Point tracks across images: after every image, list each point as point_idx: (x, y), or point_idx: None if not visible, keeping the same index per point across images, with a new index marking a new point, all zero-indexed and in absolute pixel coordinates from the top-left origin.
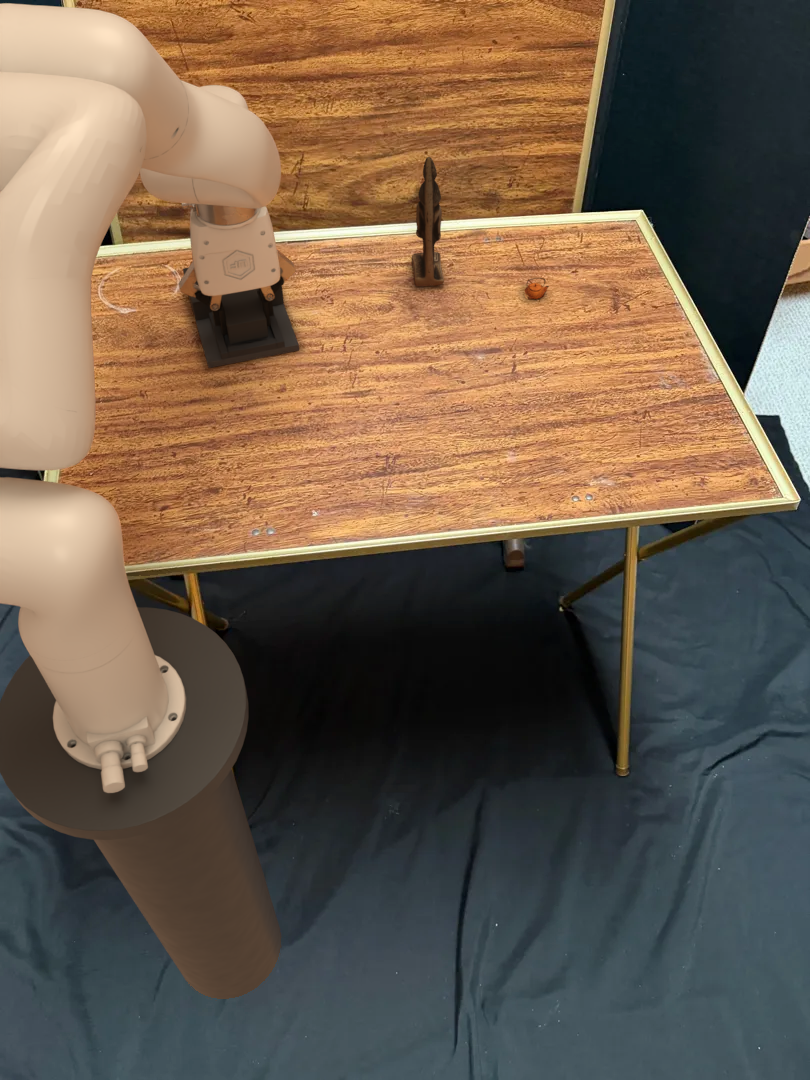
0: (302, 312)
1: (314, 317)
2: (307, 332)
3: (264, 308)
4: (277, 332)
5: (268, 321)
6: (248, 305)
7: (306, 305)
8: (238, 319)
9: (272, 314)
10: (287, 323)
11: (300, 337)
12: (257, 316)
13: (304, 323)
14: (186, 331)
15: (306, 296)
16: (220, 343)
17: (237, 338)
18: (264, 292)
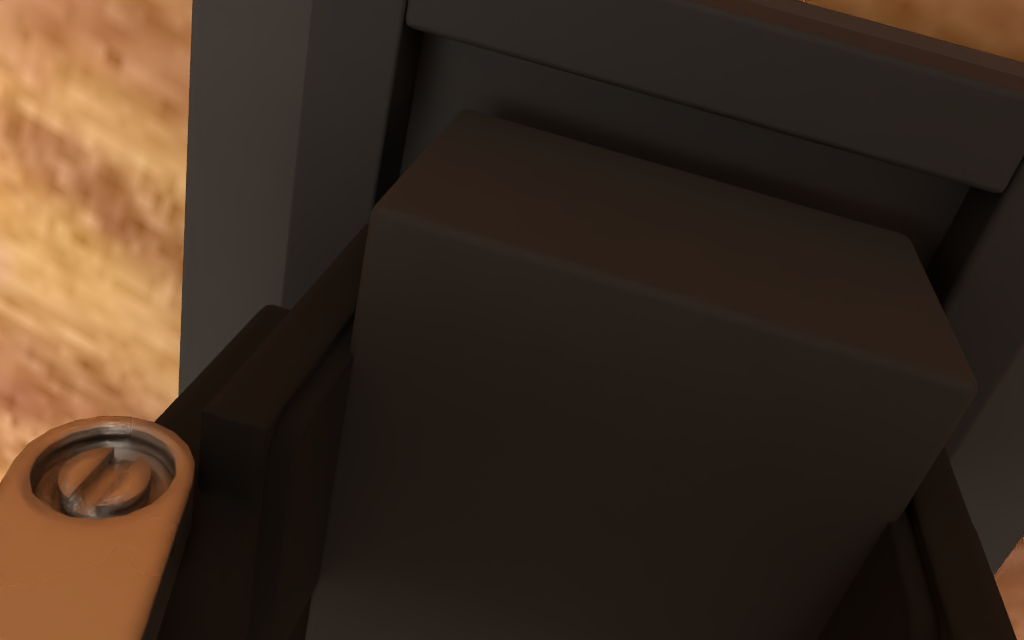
0: (83, 312)
1: (3, 209)
2: (98, 67)
3: (311, 373)
4: (341, 98)
5: (364, 252)
6: (482, 546)
7: (38, 360)
8: (745, 411)
9: (277, 313)
10: (215, 226)
11: (175, 38)
12: (468, 315)
13: (97, 189)
14: (1017, 632)
15: (20, 436)
16: (1019, 296)
17: (825, 233)
18: (123, 580)
